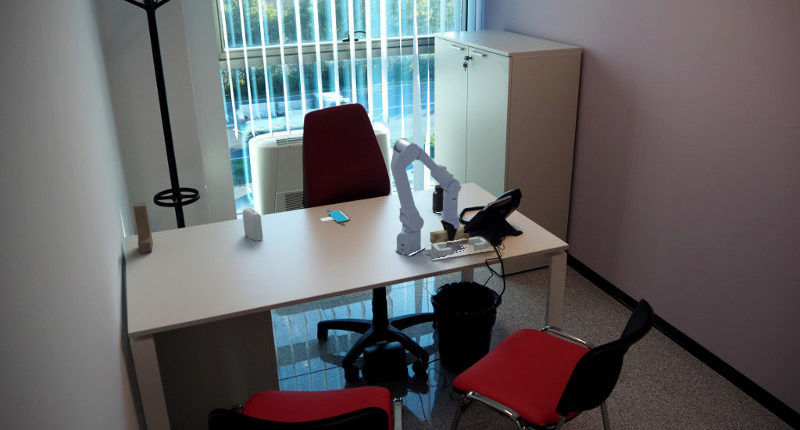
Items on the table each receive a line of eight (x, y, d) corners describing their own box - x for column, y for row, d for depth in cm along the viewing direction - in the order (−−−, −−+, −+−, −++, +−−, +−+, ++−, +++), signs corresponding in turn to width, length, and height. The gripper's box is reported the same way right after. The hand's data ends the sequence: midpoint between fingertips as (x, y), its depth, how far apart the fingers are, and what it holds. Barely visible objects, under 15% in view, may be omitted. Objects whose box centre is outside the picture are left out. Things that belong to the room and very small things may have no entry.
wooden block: (151, 252, 250) (144, 209, 243) (139, 254, 249) (131, 211, 242) (153, 243, 258) (146, 201, 251) (141, 244, 257) (133, 203, 250)
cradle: (432, 261, 241) (432, 252, 239) (424, 252, 248) (424, 244, 246) (494, 250, 248) (495, 242, 247) (485, 242, 255) (485, 234, 254)
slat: (432, 246, 253) (432, 234, 251) (430, 243, 255) (430, 232, 254) (468, 240, 258) (469, 228, 256) (466, 237, 260) (466, 226, 258)
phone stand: (314, 214, 288) (314, 210, 287) (339, 209, 292) (338, 206, 292) (329, 229, 271) (329, 226, 270) (355, 224, 276) (355, 221, 275)
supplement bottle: (447, 214, 284) (448, 188, 280) (432, 214, 285) (432, 188, 280) (447, 208, 291) (447, 183, 286) (432, 208, 291) (432, 183, 287)
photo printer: (243, 234, 266) (240, 206, 261) (252, 231, 268) (249, 204, 264) (255, 242, 258) (252, 213, 254) (264, 239, 261) (261, 211, 256)
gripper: (467, 211, 246) (466, 244, 251) (452, 199, 259) (451, 230, 264) (450, 214, 244) (449, 246, 249) (436, 201, 257) (435, 232, 262)
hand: (449, 238), depth 256 cm, fingers closed on slat, 2 cm apart
